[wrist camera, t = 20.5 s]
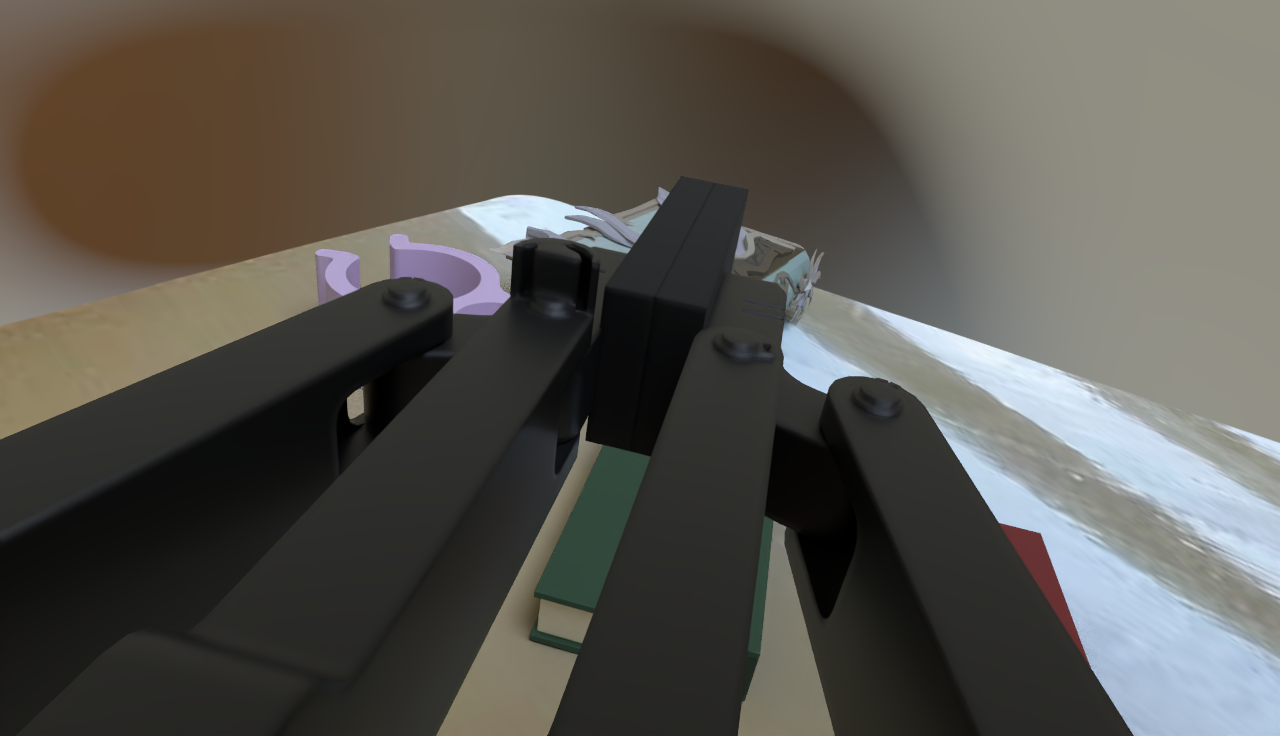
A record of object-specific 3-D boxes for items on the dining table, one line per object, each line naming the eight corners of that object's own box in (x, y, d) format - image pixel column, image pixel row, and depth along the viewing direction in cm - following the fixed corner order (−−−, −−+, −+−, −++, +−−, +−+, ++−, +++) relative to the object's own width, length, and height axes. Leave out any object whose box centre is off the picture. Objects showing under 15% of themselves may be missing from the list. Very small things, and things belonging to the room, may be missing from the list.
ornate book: (698, 439, 58) (828, 308, 81) (720, 327, 53) (853, 222, 76) (470, 336, 66) (646, 244, 89) (471, 232, 62) (657, 163, 84)
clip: (584, 397, 59) (594, 317, 55) (452, 460, 50) (455, 368, 46) (423, 301, 69) (423, 228, 65) (290, 339, 60) (282, 256, 57)
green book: (760, 654, 35) (780, 452, 50) (534, 591, 37) (618, 412, 51) (744, 701, 37) (768, 492, 52) (529, 640, 38) (612, 453, 53)
